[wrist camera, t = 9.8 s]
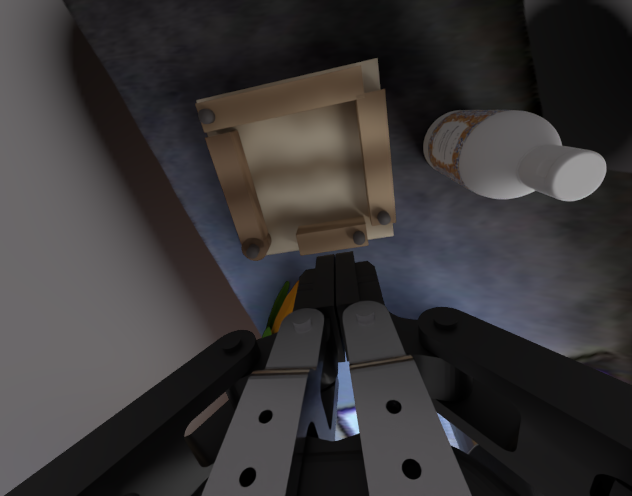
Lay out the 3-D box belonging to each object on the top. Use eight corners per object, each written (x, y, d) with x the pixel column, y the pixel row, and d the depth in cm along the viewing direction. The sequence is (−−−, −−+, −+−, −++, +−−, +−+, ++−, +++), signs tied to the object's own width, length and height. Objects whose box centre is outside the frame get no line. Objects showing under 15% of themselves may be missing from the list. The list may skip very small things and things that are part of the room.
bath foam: (436, 102, 33) (559, 94, 15) (493, 119, 33) (681, 129, 15) (412, 163, 36) (492, 218, 18) (465, 178, 36) (595, 245, 18)
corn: (247, 392, 44) (276, 286, 36) (255, 353, 51) (282, 256, 42) (294, 401, 45) (334, 299, 37) (296, 361, 52) (330, 268, 43)
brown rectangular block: (274, 248, 40) (268, 263, 36) (252, 252, 40) (243, 267, 36) (239, 130, 33) (227, 132, 30) (213, 136, 34) (198, 139, 30)
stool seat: (390, 230, 40) (399, 249, 34) (251, 251, 42) (239, 272, 37) (375, 60, 32) (383, 50, 26) (203, 100, 34) (178, 99, 29)
